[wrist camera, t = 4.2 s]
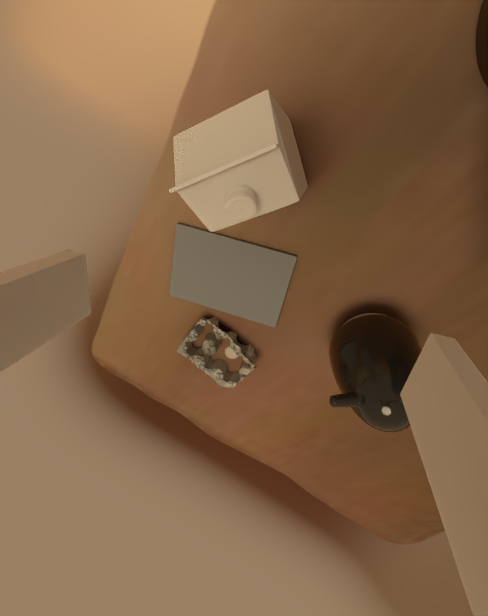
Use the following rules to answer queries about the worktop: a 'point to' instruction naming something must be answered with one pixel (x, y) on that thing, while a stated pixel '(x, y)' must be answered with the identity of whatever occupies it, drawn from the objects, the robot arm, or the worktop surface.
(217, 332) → the egg carton
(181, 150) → the milk carton
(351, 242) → the worktop surface
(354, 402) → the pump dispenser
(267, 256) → the mat
